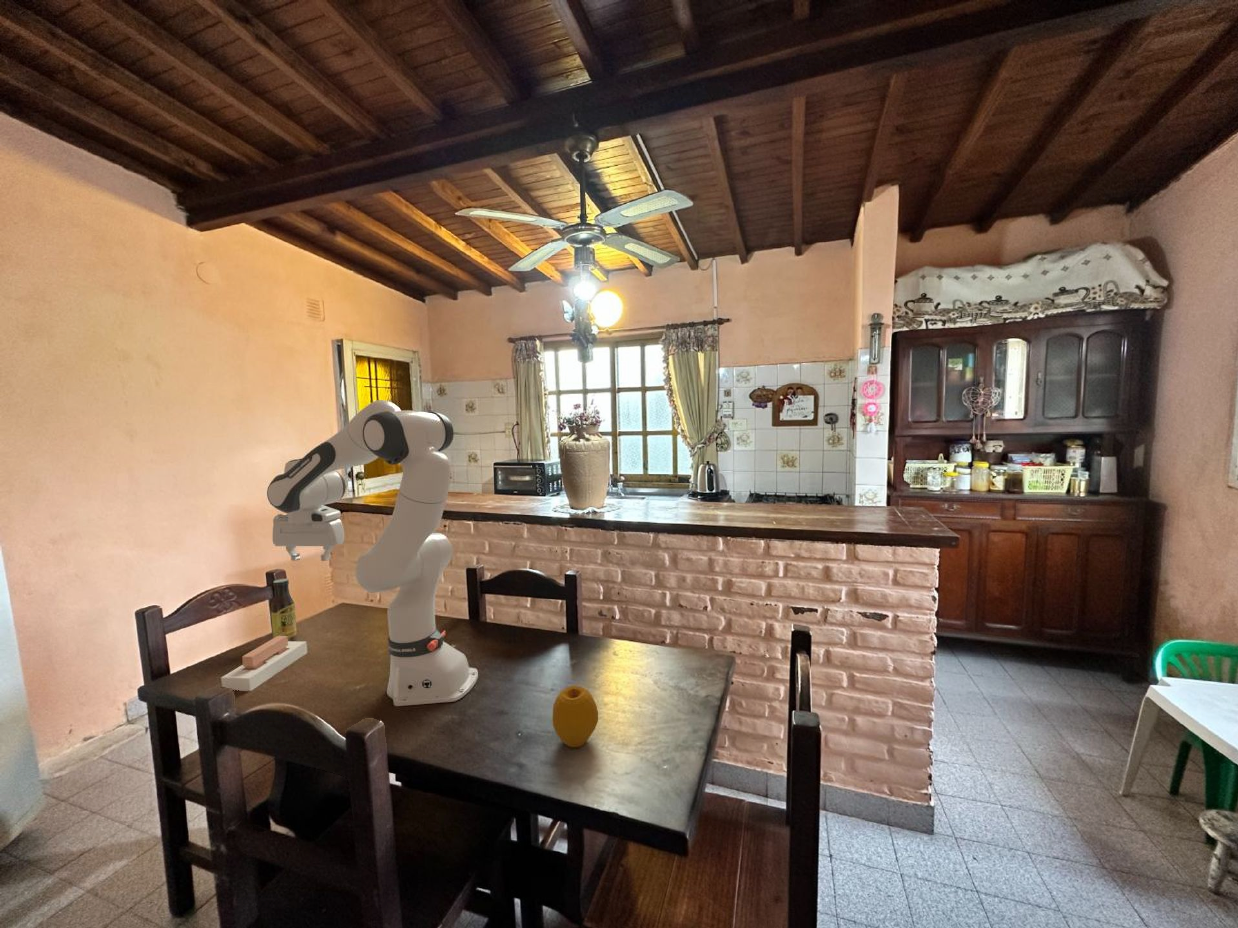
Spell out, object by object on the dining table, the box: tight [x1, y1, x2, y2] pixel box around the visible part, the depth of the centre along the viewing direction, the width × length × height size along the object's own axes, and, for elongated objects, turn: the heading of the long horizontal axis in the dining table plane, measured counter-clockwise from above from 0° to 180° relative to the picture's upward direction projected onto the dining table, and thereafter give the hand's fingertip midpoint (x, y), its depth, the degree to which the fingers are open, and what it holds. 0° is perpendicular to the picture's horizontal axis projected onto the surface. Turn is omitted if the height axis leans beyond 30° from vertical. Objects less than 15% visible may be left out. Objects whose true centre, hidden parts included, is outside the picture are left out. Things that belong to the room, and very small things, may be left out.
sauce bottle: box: [270, 578, 298, 641], centre depth 152 cm, size 7×6×20 cm
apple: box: [552, 685, 599, 748], centre depth 101 cm, size 10×10×12 cm
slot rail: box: [220, 640, 308, 692], centre depth 135 cm, size 8×20×4 cm, turn 174°
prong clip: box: [241, 636, 288, 670], centre depth 135 cm, size 3×12×7 cm, turn 174°
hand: (310, 560), depth 140 cm, fingers open, 8 cm apart
